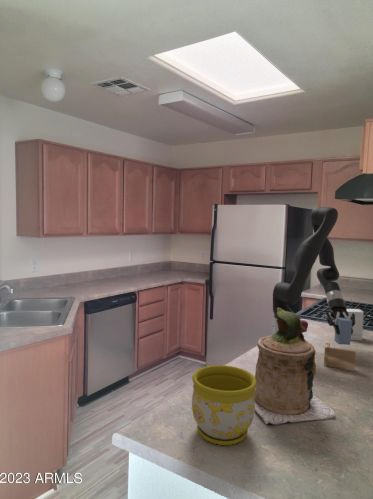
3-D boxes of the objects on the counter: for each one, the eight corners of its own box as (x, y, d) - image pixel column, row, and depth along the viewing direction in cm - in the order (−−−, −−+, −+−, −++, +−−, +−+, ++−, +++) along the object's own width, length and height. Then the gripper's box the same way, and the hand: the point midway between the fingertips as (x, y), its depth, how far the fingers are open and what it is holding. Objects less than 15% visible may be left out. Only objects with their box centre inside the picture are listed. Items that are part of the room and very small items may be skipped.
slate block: (339, 344, 165) (341, 320, 164) (334, 340, 170) (336, 317, 169) (350, 344, 165) (352, 320, 164) (345, 341, 170) (347, 317, 169)
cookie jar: (266, 428, 108) (272, 321, 105) (234, 390, 132) (237, 302, 129) (338, 418, 115) (344, 318, 112) (294, 384, 138) (299, 300, 136)
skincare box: (358, 337, 198) (360, 308, 197) (362, 341, 192) (364, 311, 191) (342, 336, 199) (343, 308, 198) (346, 340, 193) (348, 311, 191)
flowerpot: (177, 431, 105) (179, 375, 104) (218, 409, 118) (220, 360, 116) (226, 462, 92) (229, 399, 91) (266, 434, 105) (269, 378, 103)
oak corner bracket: (325, 357, 167) (326, 340, 166) (354, 362, 162) (355, 344, 162) (323, 365, 157) (324, 347, 156) (354, 371, 152) (355, 352, 151)
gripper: (323, 296, 173) (332, 329, 162) (353, 298, 174) (364, 330, 162) (318, 305, 179) (326, 337, 168) (347, 306, 179) (357, 338, 168)
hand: (344, 333), depth 165 cm, fingers closed on slate block, 5 cm apart
